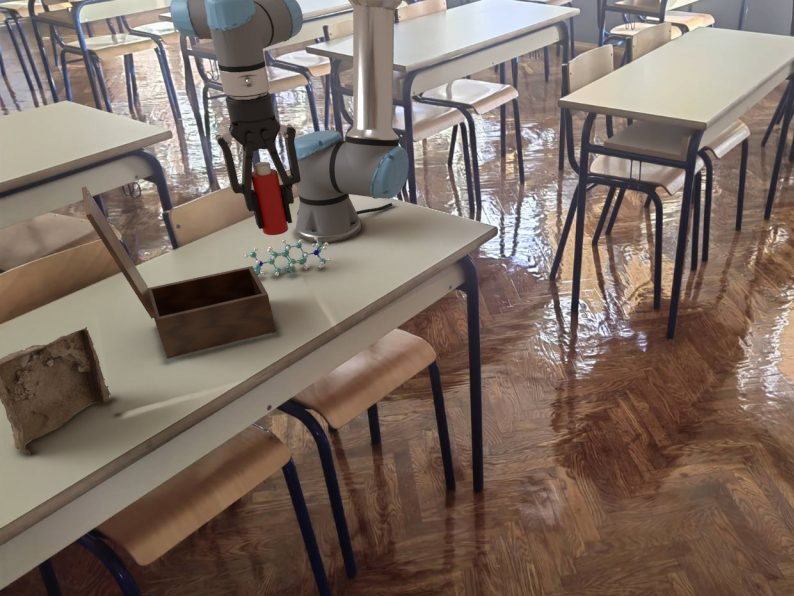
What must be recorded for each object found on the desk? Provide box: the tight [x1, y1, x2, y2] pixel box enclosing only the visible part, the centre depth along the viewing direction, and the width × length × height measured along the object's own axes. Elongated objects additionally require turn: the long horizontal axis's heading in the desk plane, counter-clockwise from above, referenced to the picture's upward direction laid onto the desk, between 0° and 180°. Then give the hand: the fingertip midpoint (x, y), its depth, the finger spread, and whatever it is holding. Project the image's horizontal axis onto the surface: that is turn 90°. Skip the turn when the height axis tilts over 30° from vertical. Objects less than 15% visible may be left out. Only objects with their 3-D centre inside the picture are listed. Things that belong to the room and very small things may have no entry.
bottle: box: [252, 161, 289, 236], centre depth 138 cm, size 5×5×13 cm
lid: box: [81, 186, 156, 319], centre depth 131 cm, size 21×13×1 cm
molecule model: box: [243, 237, 332, 276], centre depth 165 cm, size 8×18×7 cm, turn 115°
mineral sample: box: [0, 326, 112, 456], centre depth 119 cm, size 17×4×15 cm, turn 154°
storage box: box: [148, 265, 277, 359], centre depth 144 cm, size 20×13×9 cm
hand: (274, 223), depth 141 cm, fingers closed on bottle, 5 cm apart
